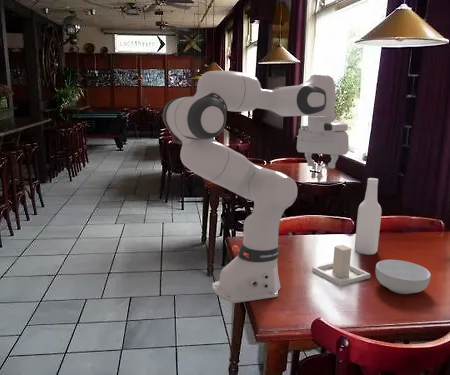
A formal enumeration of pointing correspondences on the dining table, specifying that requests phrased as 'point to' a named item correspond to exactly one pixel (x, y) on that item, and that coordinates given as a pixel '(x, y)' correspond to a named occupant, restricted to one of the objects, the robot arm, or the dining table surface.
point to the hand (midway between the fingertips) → (320, 167)
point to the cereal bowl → (402, 276)
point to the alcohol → (368, 221)
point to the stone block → (341, 261)
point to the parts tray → (360, 277)
